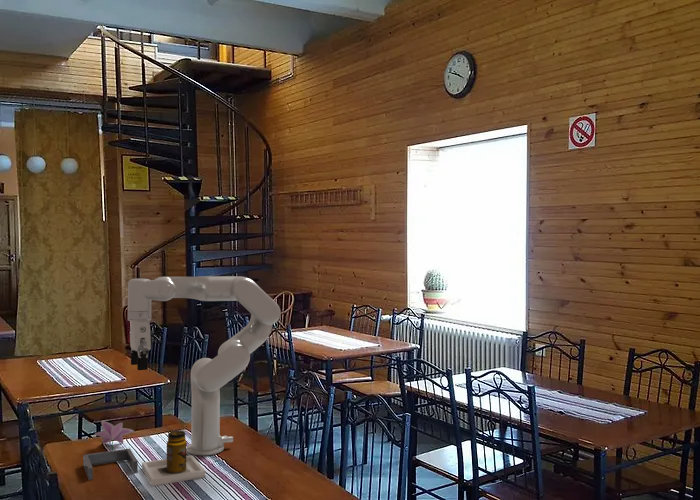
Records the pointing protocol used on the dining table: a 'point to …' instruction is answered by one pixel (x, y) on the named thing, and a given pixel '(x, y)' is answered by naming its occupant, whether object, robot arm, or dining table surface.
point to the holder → (109, 460)
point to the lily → (113, 432)
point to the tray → (159, 479)
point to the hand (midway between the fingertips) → (139, 367)
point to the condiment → (175, 454)
